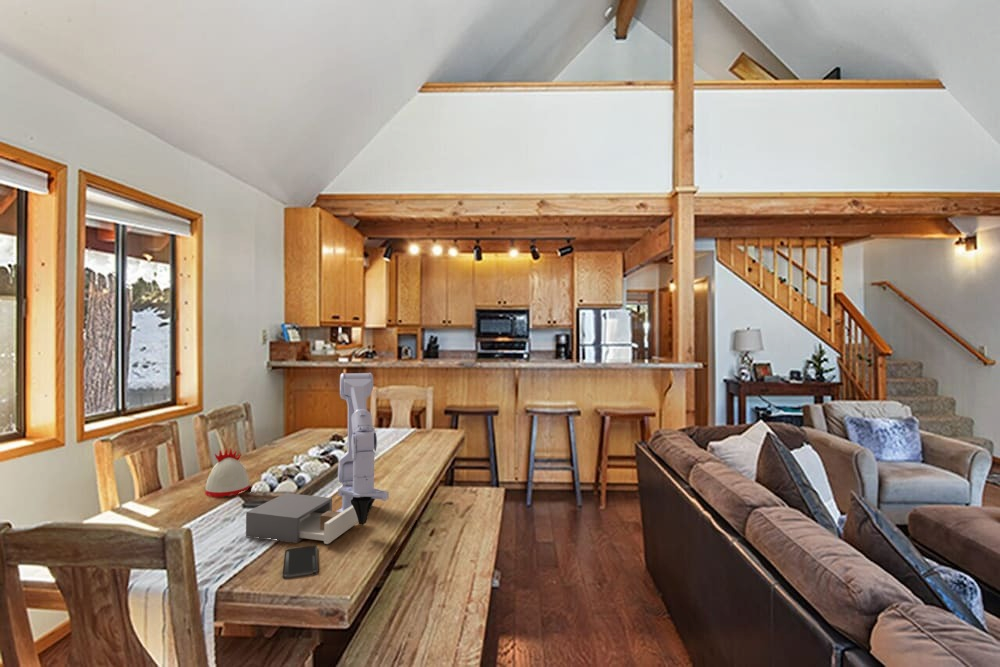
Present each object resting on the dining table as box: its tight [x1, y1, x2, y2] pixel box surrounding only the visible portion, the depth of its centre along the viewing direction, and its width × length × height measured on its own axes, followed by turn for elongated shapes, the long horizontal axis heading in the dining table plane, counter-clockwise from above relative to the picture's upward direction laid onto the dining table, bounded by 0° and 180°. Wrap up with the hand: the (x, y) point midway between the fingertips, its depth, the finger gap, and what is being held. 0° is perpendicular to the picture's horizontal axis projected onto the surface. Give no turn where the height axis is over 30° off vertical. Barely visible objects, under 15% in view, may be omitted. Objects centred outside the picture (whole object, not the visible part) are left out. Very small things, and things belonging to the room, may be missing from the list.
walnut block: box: [320, 510, 341, 530], centre depth 144 cm, size 4×4×4 cm
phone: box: [282, 545, 319, 580], centre depth 126 cm, size 8×1×15 cm
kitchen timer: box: [204, 447, 251, 498], centre depth 179 cm, size 14×14×15 cm
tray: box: [299, 505, 359, 545], centre depth 145 cm, size 16×17×5 cm
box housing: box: [245, 492, 333, 544], centre depth 147 cm, size 16×17×7 cm
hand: (362, 523), depth 141 cm, fingers closed
